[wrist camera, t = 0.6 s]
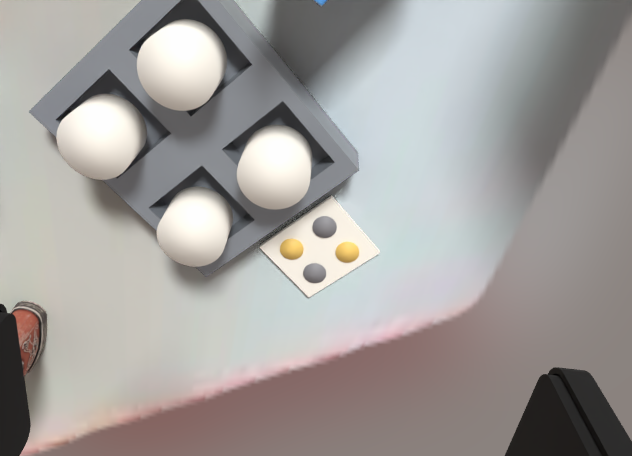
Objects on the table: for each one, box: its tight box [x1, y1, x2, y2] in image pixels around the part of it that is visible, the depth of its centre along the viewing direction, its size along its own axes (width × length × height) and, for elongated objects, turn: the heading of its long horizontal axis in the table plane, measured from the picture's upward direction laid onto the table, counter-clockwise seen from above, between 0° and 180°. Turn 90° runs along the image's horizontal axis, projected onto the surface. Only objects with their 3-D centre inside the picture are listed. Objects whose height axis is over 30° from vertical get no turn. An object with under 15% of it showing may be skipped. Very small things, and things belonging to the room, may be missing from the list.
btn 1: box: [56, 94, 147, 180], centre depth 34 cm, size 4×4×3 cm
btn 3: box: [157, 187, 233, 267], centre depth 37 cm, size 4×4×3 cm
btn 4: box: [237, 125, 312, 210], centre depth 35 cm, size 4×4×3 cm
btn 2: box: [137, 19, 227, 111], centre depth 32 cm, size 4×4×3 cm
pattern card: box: [259, 195, 380, 297], centre depth 43 cm, size 7×6×1 cm
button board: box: [29, 0, 359, 277], centre depth 37 cm, size 14×16×3 cm
